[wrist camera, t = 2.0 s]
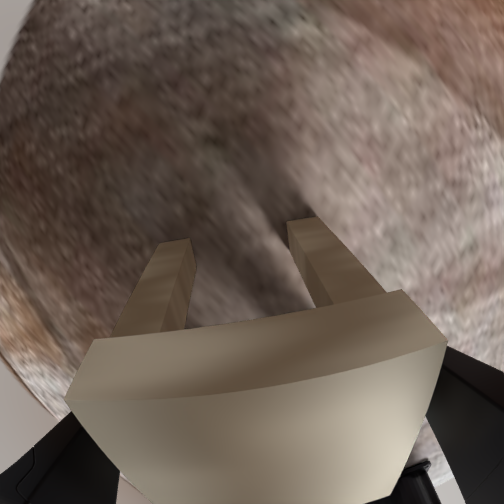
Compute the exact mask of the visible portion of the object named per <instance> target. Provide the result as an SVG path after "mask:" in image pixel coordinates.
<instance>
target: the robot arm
mask: <svg viewBox="0 0 504 504" xmlns="http://www.w3.org/2000/svg"><path fill="white" fill-rule="evenodd" d="M425 416H426V418H427V420H428V422H429V424H430V426H431V428H432V430H433V432H434V434H435V436H436V438H437V440H438V442H439V445H440V447H441V449H442V451H443V453H444V455H445V457H446V459H447V462H448V464H449V466H450V468H451V470H452V473H453V475H454V477H455V479H456V482H457V484H458V486H459V488H460V491H461V493H462V495H463V498H464V500H465V503H466V504H504V372H502V371H500V370H498V369H496V368H494V367H492V366H489V365H487V364H485V363H483V362H481V361H479V360H477V359H474V358H472V357H470V356H468V355H466V354H464V353H462V352H460V351H457V350H455V349H453V348H451V347H449V346H447V347H446V351H445V355H444V358H443V362H442V366H441V369H440V373H439V376H438V379H437V383H436V386H435V389H434V392H433V395H432V398H431V401H430V404H429V407H428V410H427V412H426V415H425ZM430 466H431V463H430V461H427V462H424V463H422V464H420V465H417V466H415V467H412V468H409V469H407V470H404V471H402V472H401V474H400V476H399V478H398V481H397V483H396V484H395V486H394V488H393V490H392V492H391V494H390V495H389V496H386V497H383V498H380V499H377V500H374V501H371V502H368V503H365V504H441V502H440V500H439V498H438V495H437V493H436V491H435V489H434V486H433V484H432V482H431V480H430V478H429V476H428V473H427V471H428V470H429V468H430ZM119 475H120V470H119V469H118V468H117V467H116V466H115V465H114V464H113V462H112V461H111V460H110V459H109V458H108V457H107V456H106V454H105V453H104V452H103V451H102V450H101V448H100V447H99V446H98V445H97V444H96V442H95V441H94V440H93V439H92V437H91V436H90V435H89V434H88V432H87V431H86V430H85V428H84V427H83V426H82V424H81V423H80V422H79V420H78V419H77V418H76V416H75V415H74V414H73V412H72V411H71V412H70V413H69V414H68V415H67V416H66V417H64V418H63V419H62V420H61V421H60V422H59V423H58V424H57V425H56V426H55V427H54V428H53V429H52V430H50V431H49V432H48V433H47V434H46V435H45V436H44V437H43V438H42V439H41V440H40V441H39V442H37V443H36V444H35V445H34V447H32V448H31V449H30V450H29V451H28V452H27V453H26V454H24V456H22V457H21V458H20V459H19V460H18V461H17V462H15V463H14V464H13V465H12V466H10V467H9V468H8V469H7V470H5V471H4V472H3V473H1V474H0V504H116V499H117V491H118V482H119Z"/></svg>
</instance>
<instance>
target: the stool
mask: <svg viewBox="0 0 504 504" xmlns="http://www.w3.org/2000/svg"><path fill="white" fill-rule="evenodd" d="M286 224H287V232H288V240H289V249H290V253H291V255H292V257H293V259H294V261H295V263H296V265H297V268H298V270H299V272H300V274H301V276H302V278H303V280H304V282H305V285H306V287H307V289H308V291H309V293H310V295H311V298H312V300H313V302H314V304H315V306H316V308H314V309H309V310H303V311H298V312H293V313H287V314H282V315H276V316H270V317H265V318H259V319H253V320H247V321H240V322H234V323H227V324H221V325H214V326H207V327H200V328H193V329H185V330H184V327H185V322H186V317H187V312H188V307H189V302H190V297H191V292H192V287H193V282H194V278H195V273H196V268H197V266H196V262H195V258H194V253H193V249H192V245H191V241H190V238H186V239H180V240H175V241H169V242H164V243H159V245H158V247H157V248H156V250H155V252H154V254H153V255H152V257H151V259H150V261H149V263H148V264H147V266H146V268H145V270H144V272H143V274H142V275H141V277H140V279H139V281H138V283H137V285H136V287H135V288H134V290H133V292H132V294H131V296H130V298H129V300H128V302H127V304H126V306H125V308H124V310H123V312H122V314H121V316H120V318H119V320H118V322H117V324H116V326H115V328H114V330H113V332H112V334H111V336H110V338H103V339H94V340H93V342H92V344H91V346H90V348H89V350H88V352H87V354H86V355H85V357H84V359H83V361H82V363H81V365H80V367H79V369H78V371H77V373H76V375H75V377H74V379H73V381H72V383H71V385H70V387H69V389H68V391H67V394H66V396H65V398H64V401H65V402H66V404H67V405H68V407H69V408H70V409H71V411H72V412H73V414H74V415H75V416H76V418H77V419H78V420H79V422H80V423H81V424H82V426H83V427H84V428H85V430H86V431H87V432H88V434H89V435H90V436H91V437H92V439H93V440H94V441H95V442H96V444H97V445H98V446H99V447H100V448H101V450H102V451H103V452H104V453H105V454H106V456H107V457H108V458H109V459H110V460H111V461H112V462H113V464H114V465H115V466H116V467H117V468H118V469H119V470H120V471H121V472H122V473H123V475H124V476H125V477H126V478H127V479H128V480H129V481H130V482H131V483H132V484H133V485H134V486H135V487H136V488H137V489H138V490H139V491H140V492H141V493H142V494H143V495H144V496H145V497H146V498H147V499H148V500H149V501H150V502H151V503H152V504H365V503H368V502H371V501H374V500H377V499H380V498H383V497H386V496H389V495H390V494H391V492H392V490H393V488H394V486H395V484H396V483H397V481H398V478H399V476H400V474H401V472H402V470H403V468H404V466H405V464H406V462H407V459H408V457H409V455H410V453H411V450H412V448H413V446H414V443H415V441H416V438H417V436H418V433H419V431H420V428H421V426H422V423H423V421H424V418H425V415H426V412H427V410H428V407H429V404H430V401H431V398H432V395H433V392H434V389H435V386H436V383H437V379H438V376H439V373H440V369H441V366H442V362H443V358H444V355H445V351H446V347H447V343H448V340H447V338H446V337H445V336H444V335H443V334H442V333H441V332H440V330H439V329H438V328H437V327H436V326H435V325H434V324H433V323H432V321H431V320H430V319H429V318H428V317H427V316H426V315H425V314H424V313H423V311H422V310H421V309H420V308H419V307H418V306H417V305H416V304H415V303H414V302H413V301H412V300H411V298H410V297H409V296H408V295H407V294H406V293H405V292H404V291H403V290H402V289H401V290H396V291H392V292H388V293H387V292H386V291H385V290H384V289H383V288H382V286H381V285H380V284H379V283H378V282H377V281H376V280H375V278H374V277H373V276H372V275H371V274H370V273H369V272H368V271H367V269H366V268H365V267H364V266H363V265H362V264H361V263H360V262H359V260H358V259H357V258H356V257H355V256H354V255H353V254H352V253H351V252H350V251H349V249H348V248H347V247H346V246H345V245H344V244H343V243H342V242H341V241H340V240H339V239H338V238H337V236H336V235H335V234H334V233H333V232H332V231H331V230H330V229H329V228H328V227H327V226H326V225H325V224H324V223H323V222H322V221H321V220H320V218H319V217H318V216H317V217H311V218H304V219H298V220H292V221H286Z"/></svg>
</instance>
